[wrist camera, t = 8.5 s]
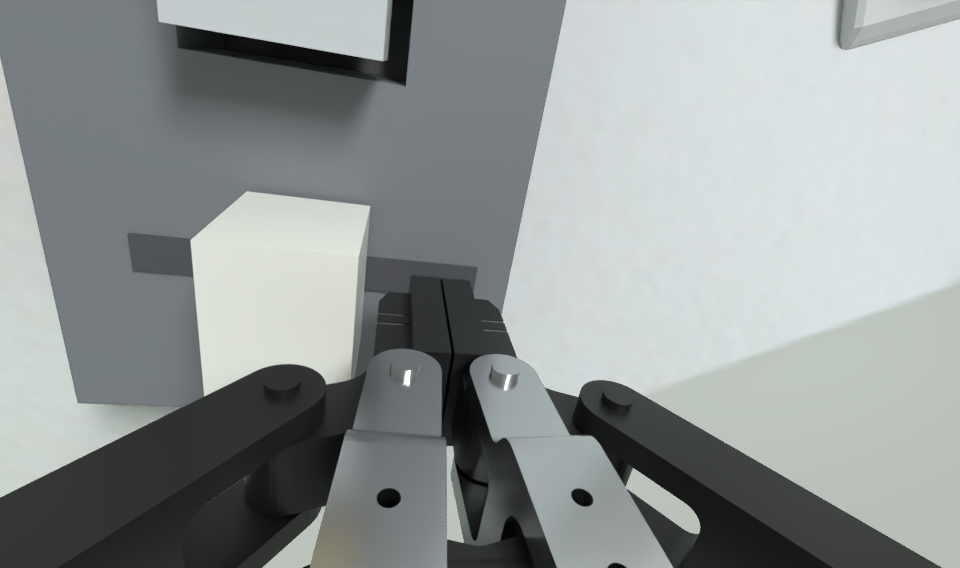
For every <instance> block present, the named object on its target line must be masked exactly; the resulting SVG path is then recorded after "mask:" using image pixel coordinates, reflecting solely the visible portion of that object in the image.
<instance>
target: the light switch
mask: <svg viewBox="0 0 960 568" xmlns="http://www.w3.org/2000/svg"><path fill="white" fill-rule="evenodd" d="M956 19H960V0H843V10H842V21H841V31H840V44H841V47H842V49H845V50H849V49H853V48H856V47H860V46H863V45H867V44H871V43H874V42H878V41H881V40H885V39H888V38H892V37H896V36H899V35H903V34H906V33H910V32H913V31H917V30H921V29H924V28H928V27H931V26H935V25H939V24H942V23H946V22H949V21H953V20H956Z"/></svg>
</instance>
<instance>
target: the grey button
mask: <svg viewBox="0 0 960 568" xmlns="http://www.w3.org/2000/svg"><path fill="white" fill-rule="evenodd" d="M392 1H393V0H157V9H158V19H159V22H163V23H169V24H175V25H180V26H186V27H192V28H197V29H203V30H209V31H214V32H220V33H226V34H231V35H237V36H242V37H248V38H254V39H259V40H265V41H271V42H276V43H282V44H288V45H293V46H299V47H305V48H310V49H316V50H322V51H327V52H333V53H339V54H344V55H350V56H356V57H361V58H367V59H372V60H378V61H386V60H388V53H389V40H390V27H391V14H392Z"/></svg>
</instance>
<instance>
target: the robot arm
mask: <svg viewBox="0 0 960 568" xmlns="http://www.w3.org/2000/svg"><path fill="white" fill-rule="evenodd" d="M446 446H453V448H454V458H453V464H452V469H451V480H452V485H453V490H454V495H455V500H456V504H457V509H458V514H459V519H460V524H461V529H462V534H463V538H464V543H460V542H456V541H451V540H447V485H446V483H447V473H446V471H447V468H446ZM633 468H635V469H636V470H638V471H639V472H641V473H642V474H643V475H645V476H646V477H648V478H649V479H651V480H652V481H654V482H655V483H657V484H658V485H660V486H661V487H662V488H664V489H665V490H667V491H669V492H670V493H671V494H673V495H674V496H676V497H677V498H679V499H680V500H682V501H683V502H685V503H686V504H687V505H688V506H690V507H691V508H692V509H693V510H694V512H695V513H696V515H697V517H698V519H699V521H700V526H701V528H700V533H699V534H692V533H689V532H687V531H685V530H684V529H682V528H681V527H679V526H678V525H676V524H675V523H674V522H672V521H670V520H669V519H668V518H667V517H665V516H664V515H662V514H661V513H660V512H658V511H657V510H656V509H654V508H653V507H651V506H650V505H648V504H647V503H646V502H644V501H643V500H641V499H640V498H639V497H637V496H636V495H635V494H633V493H632V492H630V491H629V490H628V489H626V487H625V486H626V484H627V481H628V479H629V476H630V474H631V471H632V469H633ZM241 479H242V480H241ZM238 481H239V482H238ZM237 482H238V483H237ZM235 483H236V484H235ZM234 484H235V485H234ZM232 485H233V486H232ZM231 486H232V487H231ZM228 488H229V489H228ZM225 490H226V491H225ZM224 491H225V492H224ZM222 492H223V493H222ZM221 493H222V494H221ZM219 494H220V495H219ZM218 495H219V496H218ZM216 496H217V497H216ZM215 497H216V498H215ZM212 499H213V500H212ZM209 501H210V502H209ZM208 502H209V503H208ZM206 503H207V504H206ZM205 504H206V505H205ZM325 505H326V508H325V512H324V516H323V520H322V524H321V527H320V531H319V535H318V538H317V542H316V546H315V550H314V554H313V557H312V561H311V564H310V565H308V566H305V567H303V568H941V567H940V566H938V565H936V564H934V563H933V562H931V561H929V560H927V559H926V558H924V557H922V556H920V555H919V554H917V553H915V552H914V551H912V550H910V549H908V548H906V547H905V546H903V545H901V544H900V543H898V542H896V541H894V540H893V539H891V538H889V537H888V536H886V535H884V534H882V533H881V532H879V531H877V530H875V529H874V528H872V527H870V526H868V525H866V524H865V523H863V522H862V521H860V520H858V519H856V518H855V517H853V516H851V515H849V514H848V513H846V512H844V511H842V510H841V509H839V508H837V507H836V506H834V505H832V504H830V503H828V502H827V501H825V500H823V499H822V498H820V497H818V496H816V495H814V494H813V493H811V492H809V491H808V490H806V489H804V488H803V487H801V486H799V485H797V484H795V483H794V482H792V481H790V480H789V479H787V478H785V477H783V476H782V475H780V474H778V473H777V472H775V471H773V470H771V469H770V468H768V467H766V466H764V465H763V464H761V463H759V462H757V461H756V460H754V459H752V458H750V457H749V456H747V455H745V454H744V453H742V452H740V451H738V450H737V449H735V448H733V447H731V446H730V445H728V444H726V443H724V442H723V441H721V440H719V439H717V438H716V437H714V436H712V435H711V434H709V433H707V432H705V431H704V430H702V429H700V428H698V427H697V426H695V425H693V424H691V423H690V422H688V421H686V420H685V419H683V418H681V417H679V416H677V415H676V414H674V413H672V412H671V411H669V410H667V409H665V408H664V407H662V406H660V405H658V404H657V403H655V402H653V401H652V400H650V399H648V398H646V397H645V396H643V395H641V394H639V393H638V392H636V391H634V390H632V389H631V388H629V387H627V386H624V385H622V384H619V383H616V382H611V381H605V380H597V381H591V382H588V383H586V384H585V385H584V386H583V387H582V388H581V391H580V394H579V397H575V396H571V395H568V394H564V393H560V392H556V391H553V390H550V389H547V388H545V387H544V386H543V384H542V382H541V380H540V378H539V376H538V374H537V373H536V371H535V370H534V369H533V368H532V367H531V366H530V365H529V364H527V363H526V362H524V361H522V360H520V359H518V358H517V357H516V354H515V351H514V348H513V346H512V343H511V340H510V338H509V335H508V332H507V330H506V327H505V324H504V323H503V319H502V316H501V314H500V311H499V309H498V308H496V307H495V306H494V305H493V304H492V303H491V302H490V301H489V300H485V299H475V298H474V294H473V291H472V287H471V284H470V281H469V280H464V279H453V278H442V277H441V279H440V278H439V277H430V276H418V275H411V277H410V284H409V292H408V293H397V292H388V293H387V294H386V295H385V296H384V297H383V298H382V299H381V300H379V307H378V317H377V327H376V336H375V346H374V356H373V358H372V360H371V361H370V363H369V365H368V369H367V371H365V372H364V373H363V374H361V375H359V376H358V377H355V378H353V379H350V380H347V381H343V382H338V383H332V384H326V382H325V380H324V378H323V376H322V375H321V374H320V373H318V372H317V371H315V370H314V369H311V368H309V367H306V366H302V365H296V364H280V365H273V366H268V367H265V368H262V369H259V370H257V371H255V372H253V373H251V374H249V375H247V376H245V377H243V378H241V379H239V380H237V381H235V382H233V383H231V384H229V385H227V386H225V387H223V388H221V389H218V390H216V391H214V392H212V393H210V394H208V395H206V396H204V397H202V398H200V399H198V400H196V401H194V402H192V403H190V404H188V405H186V406H184V407H182V408H180V409H178V410H176V411H174V412H172V413H170V414H168V415H166V416H164V417H162V418H160V419H158V420H156V421H154V422H152V423H150V424H148V425H146V426H144V427H142V428H140V429H138V430H136V431H134V432H132V433H130V434H128V435H126V436H124V437H122V438H120V439H118V440H116V441H114V442H112V443H110V444H108V445H106V446H104V447H102V448H100V449H98V450H96V451H94V452H92V453H90V454H87V455H85V456H83V457H81V458H79V459H77V460H75V461H73V462H71V463H69V464H67V465H65V466H63V467H61V468H59V469H57V470H55V471H53V472H51V473H49V474H47V475H45V476H43V477H41V478H39V479H37V480H35V481H33V482H31V483H29V484H27V485H25V486H23V487H21V488H19V489H17V490H15V491H13V492H11V493H9V494H7V495H5V496H3V497H1V498H0V568H262V567H263V566H264V565H265V564H266V563H268V562H269V561H270V560H271V559H272V558H273V557H274V556H275V555H277V554H278V553H279V552H280V551H281V550H282V549H283V548H284V547H286V545H288V544H289V543H290V542H291V541H292V540H293V539H295V538H296V537H297V536H298V535H299V534H300V533H301V532H302V531H303V530H304V529H306V528H307V527H308V526H309V525H310V524H311V523H312V522H313V521H314V520H315V519H316V517H317V516H318V514H319V512H320V510H321V507H322V506H325ZM202 506H203V507H202Z"/></svg>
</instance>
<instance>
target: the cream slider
mask: <svg viewBox="0 0 960 568" xmlns="http://www.w3.org/2000/svg"><path fill="white" fill-rule="evenodd" d="M369 218H370V206H367V205H359V204H350V203H342V202H333V201H325V200H317V199H308V198H300V197H291V196H283V195H274V194H266V193H257V192H249V191H247V192H246V193H244V194H243V195H242V196H241V197H240V198H239V199H237V200H236V201H235V202H234V203H233V204H232V205H230V206H229V207H228V208H227V209H226V210H225V211H224V212H222V213H221V214H220V215H219V216H218V217H217V218H215V219H214V220H213V221H212V222H211V223H210V224H208V225H207V226H206V227H205V228H204V229H203V230H202V231H200V232H199V233H198V234H197V235H196V236H195V237H193V238H192V239H191V240H190V242H191V253H192V264H193V276H194V287H195V298H196V310H197V321H198V332H199V343H200V355H201V366H202V377H203V389H204V396H206V395H208V394H210V393H212V392H214V391H216V390H218V389H221V388H223V387H225V386H227V385H229V384H231V383H233V382H235V381H237V380H239V379H241V378H243V377H245V376H247V375H249V374H251V373H253V372H255V371H257V370H259V369H262V368H265V367H268V366H273V365H280V364H296V365H302V366H306V367H309V368H311V369H314V370H315V371H317V372H318V373H320V374H321V375H322V376H323V378H324V380H325V382H326V384H332V383H338V382H343V381H347V380H350V379H353V378H355V371H356V365H357V359H358V352H359V346H360V340H361V329H362V315H363V301H364V287H365V274H366V260H367V246H368V232H369Z"/></svg>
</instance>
